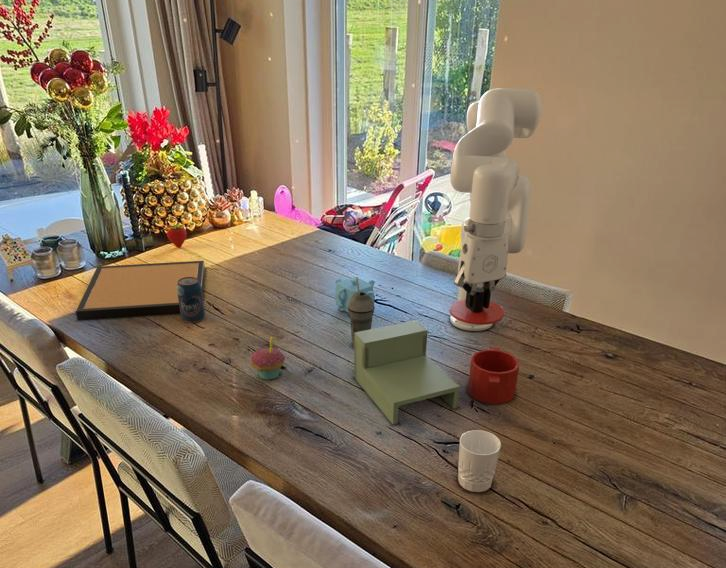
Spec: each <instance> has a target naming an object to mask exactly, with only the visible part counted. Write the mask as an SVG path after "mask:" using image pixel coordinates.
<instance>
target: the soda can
mask: <svg viewBox="0 0 726 568" xmlns="http://www.w3.org/2000/svg"><path fill="white" fill-rule="evenodd" d="M176 288H177V294H178V300H179V306H180V312H181V313H180V317H181V318H182V319H183V321H184V322H186V323H189V324H190V323H193V324H194V323H198V322H200V321H202V320H204V318H205V315H206V311H205V303H204V297H203V293H202V289H201V284H200V283H199V282H198V279H197V278H194V277H185V278H181V279H179V280H178V284H177V287H176Z"/></svg>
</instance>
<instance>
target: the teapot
mask: <svg viewBox="0 0 726 568" xmlns="http://www.w3.org/2000/svg"><path fill="white" fill-rule="evenodd" d="M356 277H357V276H354V277H353V276H352V277H349V278H347V279H343V280H342V279H341V278H339V279H337V280H335V292H334V302H335V306H336V307H337V308H338V309H339V311H341V312H346V313H348V314H349V312H348V304H349V300H350V298H351V297H352V296H353V295H354V294H356V293H358V291H357V282H356ZM358 283H359V291H360V292H364V293H367V294H368V295H370V297H371V298H372V299H373V302H374V303H375V291H374V286H375V284H376V281H375V280H369V281H368V282H367V281H366V280H364V279H362V278H359V277H358Z"/></svg>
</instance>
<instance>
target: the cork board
mask: <svg viewBox="0 0 726 568" xmlns="http://www.w3.org/2000/svg"><path fill="white" fill-rule="evenodd" d="M205 272H206V265H205V260H191V261H175V262H173V261H172V262H153V263H138V264H119V265H101V266H96V268H95V270H94V272H93V275H92V277H91V279H90V281H89V283H88V285H87V287H86V289H85V291H84V293H83V296H82V298H81V300H80V301H79V304H78V306H77V307H76V310H75V314H76V315H75V316H76V319H77V321H85V320H100V319H101V320H102V319H116V318H117V319H118V318H130V317H131V318H133V317H144V316H145V317H147V316H160V315H161V316H163V315H177V314H181V312H180V306H179V300H178V294H177V288H176V287H177V284H178V280H179V279H181V278H185V277H194V278H197V279H198V282H199V283H200V284H201V289H202V294H203V292H204V283H205V282H204V281H205Z"/></svg>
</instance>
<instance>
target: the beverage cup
mask: <svg viewBox="0 0 726 568" xmlns="http://www.w3.org/2000/svg"><path fill="white" fill-rule="evenodd" d="M355 277H356V282H357V291H358V293H356V294H354V295H353V296H352V297H351V298H350V300H349V304H348V312H349V313H348V312H347V313H348V315H349V322H350V324H349V325H350V333H351V342H352V347H353V348H354V333H355V332H360V331H365V330H370V329H372V323H373V316H374V312H375V301H374V302H373V299H372V298H371V297H370V295H368V294H367V293H364V292H360V291H359V283H358V278H359V277H358V276H355Z"/></svg>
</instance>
